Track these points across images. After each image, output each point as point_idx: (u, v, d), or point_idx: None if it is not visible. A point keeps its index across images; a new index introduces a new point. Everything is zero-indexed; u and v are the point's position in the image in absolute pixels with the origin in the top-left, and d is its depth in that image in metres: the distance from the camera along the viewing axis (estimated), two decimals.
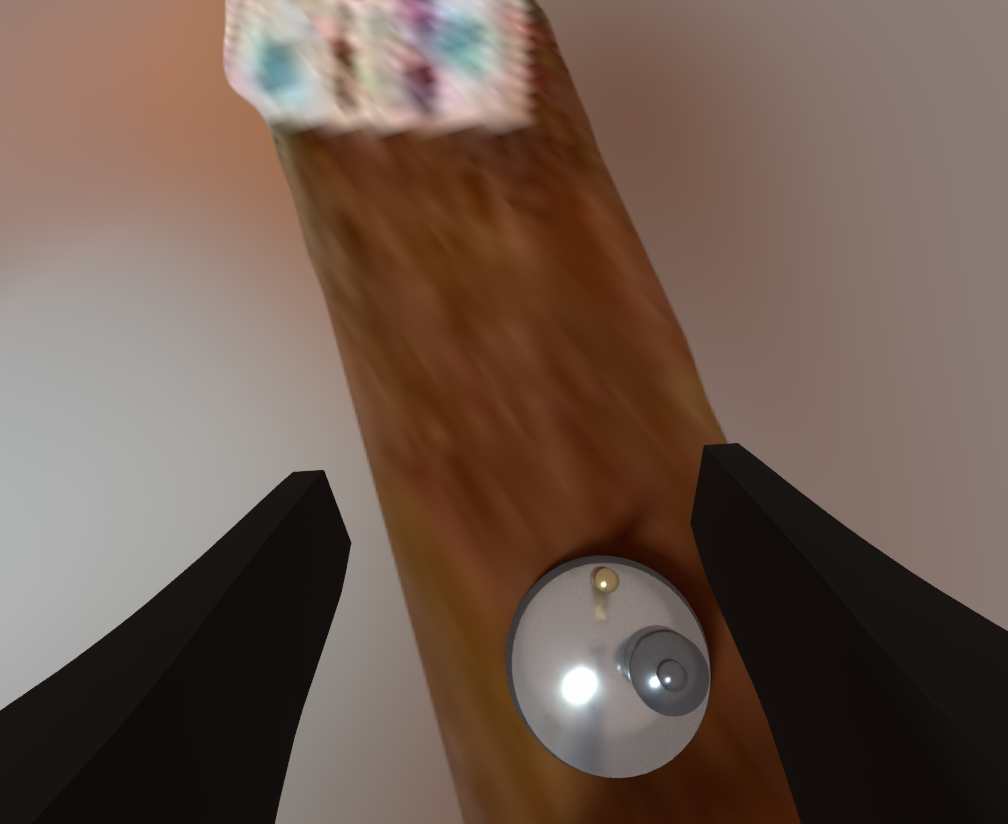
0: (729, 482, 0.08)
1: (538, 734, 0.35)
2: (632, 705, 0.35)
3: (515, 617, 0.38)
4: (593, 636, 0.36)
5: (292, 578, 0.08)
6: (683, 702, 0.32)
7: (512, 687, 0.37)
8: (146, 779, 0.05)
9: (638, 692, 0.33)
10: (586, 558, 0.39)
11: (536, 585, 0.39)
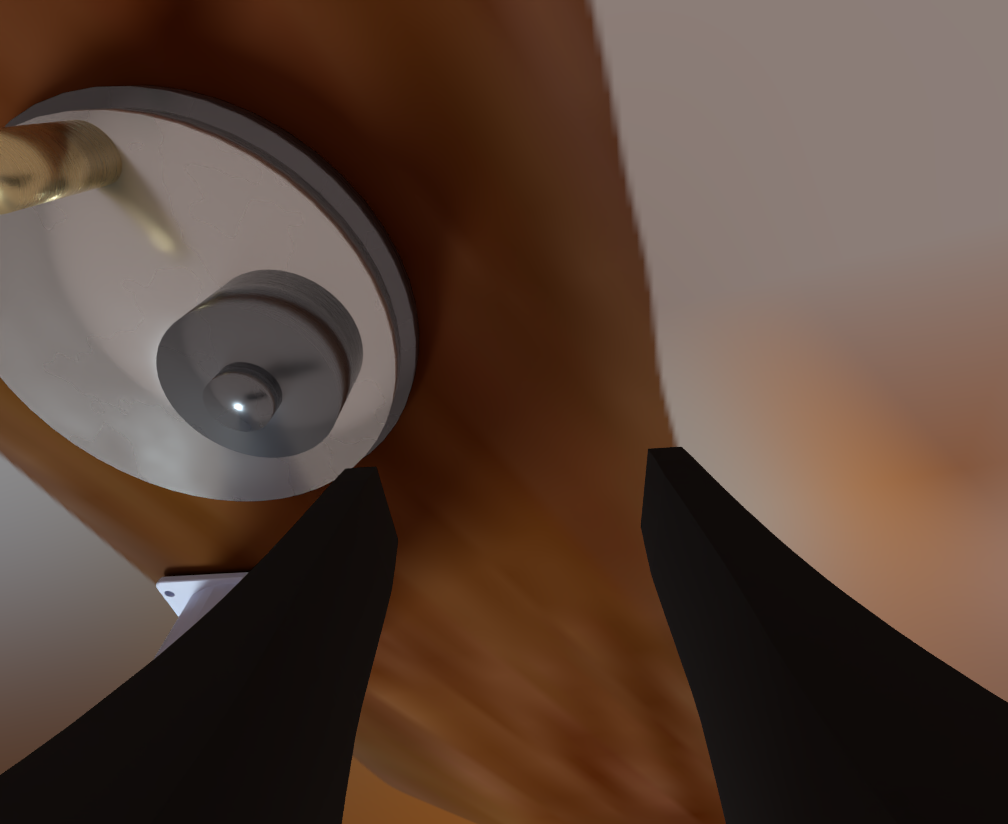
0: (666, 486, 0.08)
1: (101, 456, 0.20)
2: None
3: None
4: (131, 298, 0.16)
5: (353, 574, 0.08)
6: (290, 436, 0.15)
7: None
8: (242, 776, 0.05)
9: (192, 423, 0.15)
10: (70, 97, 0.14)
11: None
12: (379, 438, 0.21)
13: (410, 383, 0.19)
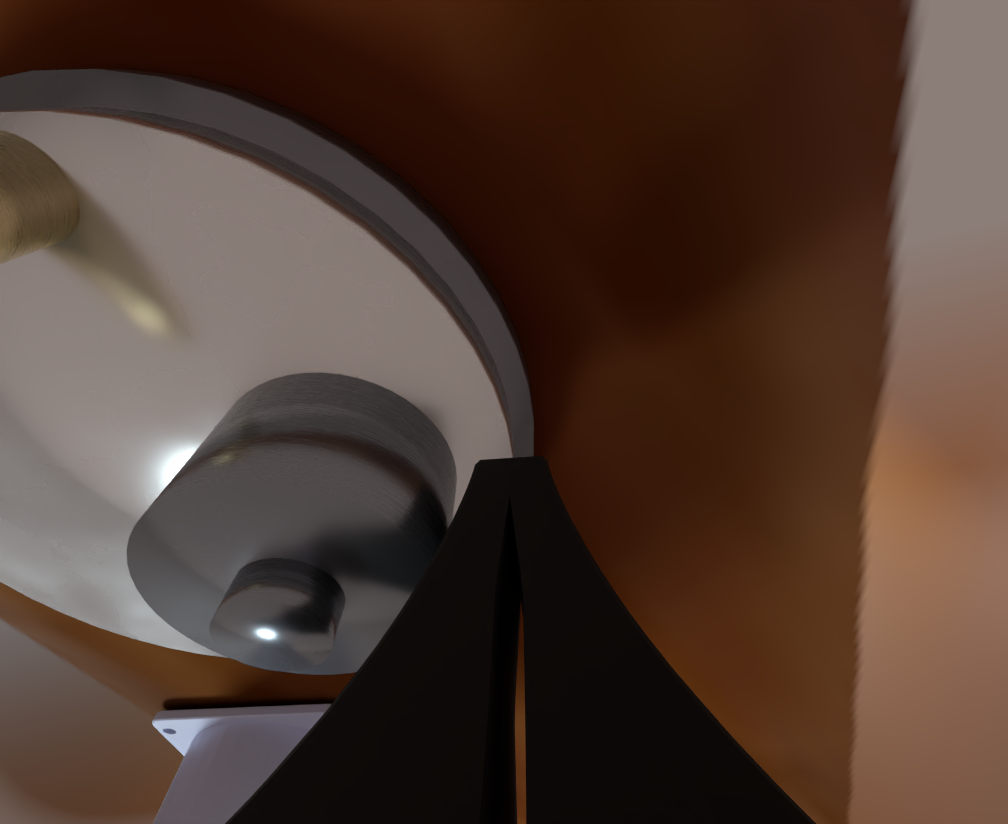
0: None
1: (70, 611, 0.14)
2: None
3: None
4: (104, 414, 0.10)
5: (510, 566, 0.08)
6: (353, 650, 0.09)
7: None
8: (495, 767, 0.05)
9: (190, 634, 0.09)
10: None
11: None
12: None
13: None
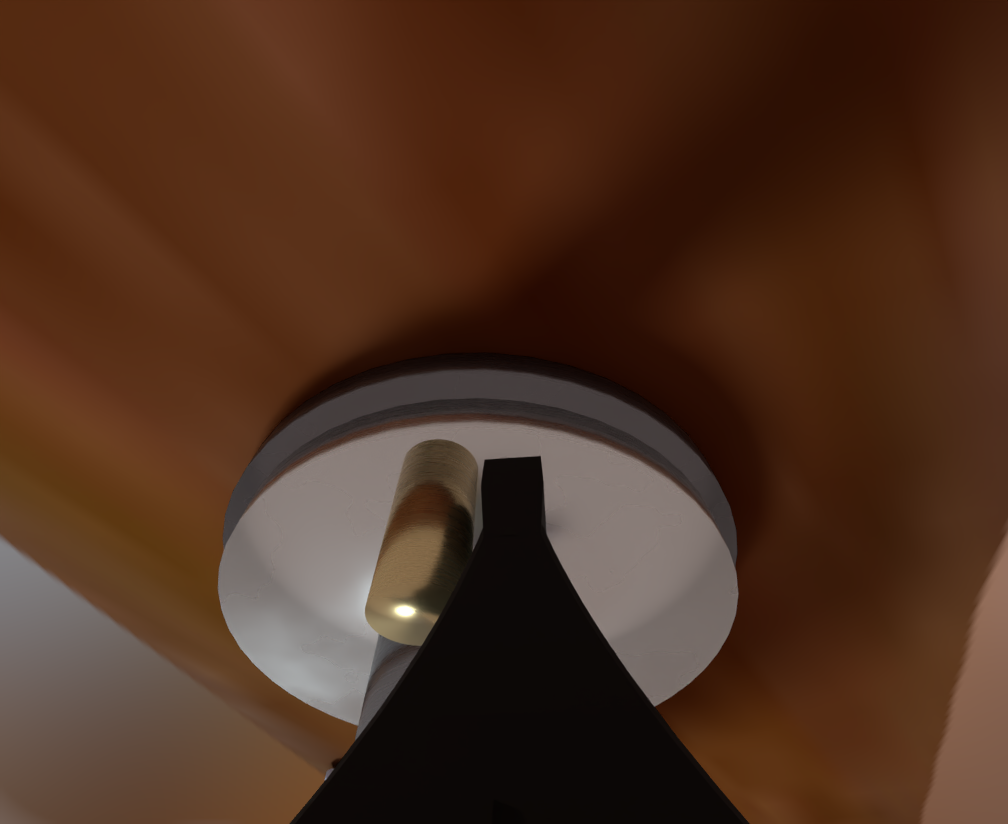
0: None
1: (337, 714, 0.17)
2: None
3: (228, 526, 0.14)
4: None
5: None
6: None
7: None
8: None
9: None
10: (408, 384, 0.11)
11: (261, 459, 0.12)
12: None
13: None
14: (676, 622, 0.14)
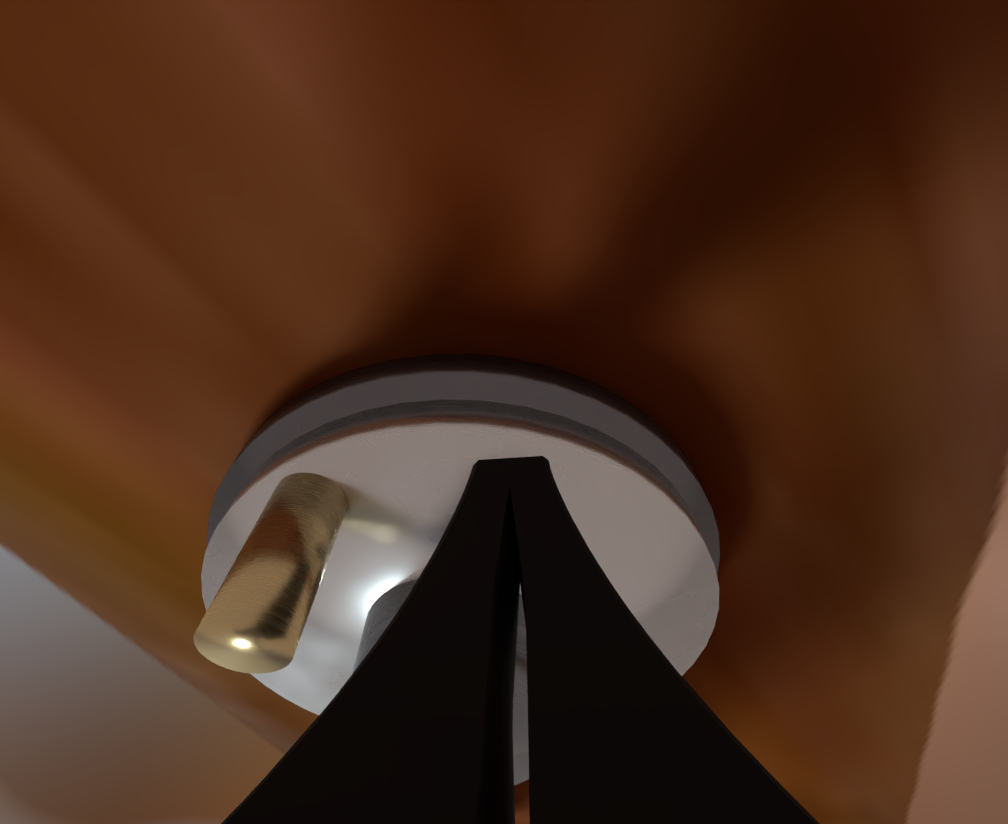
0: (511, 495, 0.08)
1: None
2: None
3: (213, 524, 0.14)
4: None
5: (508, 566, 0.08)
6: None
7: None
8: (491, 767, 0.05)
9: None
10: (391, 385, 0.11)
11: (245, 458, 0.12)
12: None
13: None
14: (645, 568, 0.13)
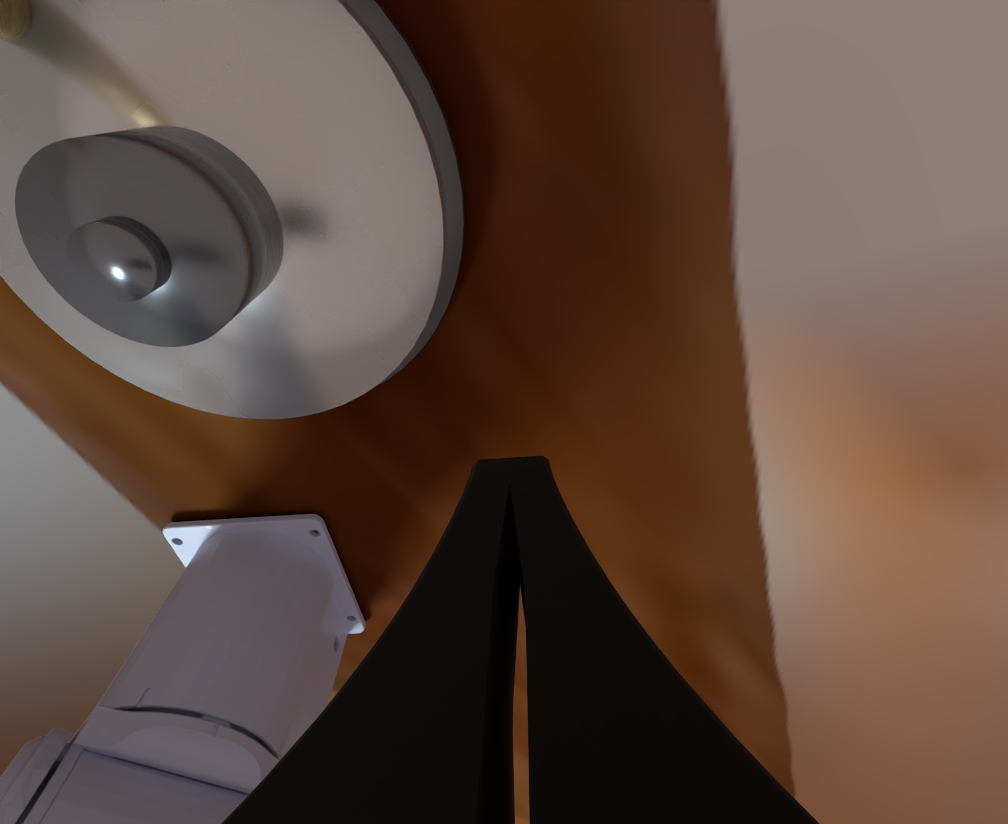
0: (511, 495, 0.08)
1: (199, 405, 0.18)
2: (300, 273, 0.15)
3: None
4: None
5: (509, 566, 0.08)
6: (206, 299, 0.13)
7: None
8: (491, 768, 0.05)
9: (113, 329, 0.13)
10: None
11: None
12: (416, 347, 0.18)
13: (455, 277, 0.17)
14: (345, 111, 0.13)
